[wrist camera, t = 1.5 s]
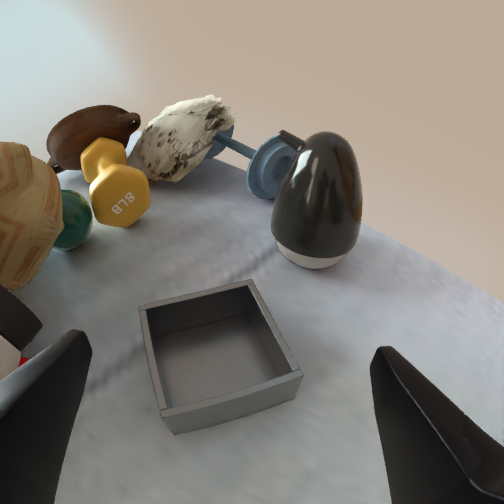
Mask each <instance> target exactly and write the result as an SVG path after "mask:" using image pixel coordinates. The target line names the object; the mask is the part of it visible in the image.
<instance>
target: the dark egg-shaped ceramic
mask: <svg viewBox="0 0 504 504" xmlns="http://www.w3.org/2000/svg"><path fill="white" fill-rule="evenodd" d="M278 138H279V139H280V140H281V141H283V142H284V143H285V144H287V145H288V146H289V147H291V148H292V149H293V150H295V151H296V153H295V155H294V157H293V158H292V160H291V161H290V163H289V165H288V167H287V169H286V171H285V173H284V175H283V177H282V180H281V182H280V185H279V188H278V191H277V194H276V198H275V202H274V206H273V210H272V215H271V231H272V233H273V235H274V238H275V241H276V244H277V246H278V248H279V250H280V251H281V252H282V254H283V255H284V256H285V257H286V258H287V259H289V260H290V261H291V262H293V263H295V264H297V265H299V266H302V267H305V268H311V269H321V268H326V267H329V266H332V265H334V264H336V263H338V262H339V261H340V260H342V259H343V258H344V257H345V256H346V254H347V253H348V252H349V251H350V250H351V249H352V248H353V247H354V246H355V244H356V242H357V239H358V235H359V231H360V224H361V216H362V186H361V178H360V172H359V167H358V163H357V159H356V157H355V154H354V151H353V149H352V147H351V145H350V144H349V142H348V141H347V140H346V139H345V138H343V137H342V136H341V135H339V134H336V133H334V132H328V131H324V132H318V133H315V134H313V135H312V136H310V137H309V138H307V139H306V140H305V141H304V140H302V139H300V138H298V137H296V136H294V135H292V134H290V133H288V132H287V131H285V130H281V131H280V132H279V134H278Z"/></svg>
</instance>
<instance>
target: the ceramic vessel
mask: <svg viewBox="0 0 504 504" xmlns="http://www.w3.org/2000/svg"><path fill="white" fill-rule="evenodd" d="M62 205H63V204H62V196H61V188H60V183H59V180H58V178H57V175H56V173H55V172H54V170H53V169H52V168H51V167H50V166H49V165H48V164H46V163H45V162H43V161H42V160H40V159H38V158H36V157H34V156H32V155H31V154H30V151H29V148H28V147H27V146H26V145H22V144H19V143H15V142H0V285H1V286H3V287H4V288H6V289H9V290H19V289H21V288H23V287H24V286H25V285H27V284H28V283H29V282H30V281H31V280H32V279H33V278H34V276H35V275H36V274H37V273H38V272H39V270H40V268H41V266H42V265H43V263H44V261H45V260H46V258H47V256H48V254H49V252H50V250H51V248H52V246H53V244H54V242H55V240H56V238H57V237H58V235H59V234H60V233H61V232H62V230H63V229H64V223H63V220H62Z"/></svg>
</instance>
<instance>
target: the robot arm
mask: <svg viewBox="0 0 504 504" xmlns="http://www.w3.org/2000/svg"><path fill="white" fill-rule="evenodd" d="M91 358H92V348H91V346H90V343H89V341H88V338H87V336H86V333H85V332H84V331H81V330H75V329H73V330H71V331H69V332H68V333H66V334H65V335H64V336H62V337H61V338H59V339H58V340H56V341H55V342H54V343H52V344H51V345H49V346H48V347H46V348H45V349H44V350H42V351H41V352H39V353H38V354H37V355H35V356H34V357H32V358H31V359H30V360H28V361H27V362H26V363H24V364H23V365H21V366H20V367H19V368H17V369H16V370H14V371H13V372H12V373H10V374H9V375H8V376H6V377H5V378H4V379H2V380H1V381H0V504H54V501H55V496H56V491H57V486H58V482H59V477H60V473H61V469H62V465H63V461H64V457H65V453H66V449H67V446H68V442H69V438H70V435H71V431H72V428H73V425H74V421H75V418H76V415H77V412H78V409H79V405H80V402H81V399H82V396H83V392H84V388H85V383H86V379H87V375H88V370H89V366H90V362H91ZM370 377H371V385H372V393H373V402H374V410H375V416H376V421H377V426H378V430H379V435H380V440H381V445H382V450H383V455H384V460H385V465H386V471H387V477H388V483H389V489H390V495H391V501H392V504H504V447H503V446H502V445H501V444H499V443H498V442H497V441H495V440H494V439H493V438H492V437H490V436H489V435H488V434H487V433H486V432H484V431H483V430H482V429H481V428H480V427H479V426H478V425H476V424H475V423H474V422H473V421H472V420H471V419H470V418H469V417H468V416H467V415H464V413H463V412H462V411H461V410H460V409H459V408H458V407H457V406H456V405H455V404H454V403H453V402H452V401H451V400H450V399H449V398H447V397H446V396H445V395H444V394H443V393H442V392H441V391H440V390H439V389H438V388H437V387H436V386H435V385H434V384H432V383H431V382H430V381H429V380H428V379H427V378H426V377H425V376H424V375H423V374H422V373H420V372H419V371H418V370H417V369H416V368H415V367H414V366H413V365H412V364H411V363H410V362H408V361H407V360H406V359H405V358H404V357H403V356H402V355H401V354H400V353H399V352H397V351H396V350H395V349H394V348H393V347H391V346H380V347H378V348H377V350H376V353H375V355H374V357H373V359H372V362H371V364H370Z"/></svg>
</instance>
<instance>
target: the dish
mask: <svg viewBox="0 0 504 504" xmlns="http://www.w3.org/2000/svg"><path fill="white" fill-rule="evenodd" d="M133 121H135V122H134V123H133ZM140 123H141V120H140V115H138V114H137V113H129V112H127V111H126V110H124V109H122V108H118V107H116V106H111V105H98V106H93V107H87V108H84V109H81V110H78V111H76V112H74V113H72V114H70V115H68V116H67V117H65V118H63V119H62V120H61V121H60V122H58V123H57V125H55V126H54V127H53V128H52V130H51V131H50V133H49V135H48V138H47V144H46V145H47V150H48V152H49V154H50V156H51V158H50V159H49V161H48V163H47V164H48V165H49V166H50V167H51V168H52V169H53V170H54V172H55V173H56V174H57V173H60V172H62V171H65V170H82V166H81V154H82V152H83V151H84V150H85V149H86V148H87V147H88V146H89V145H90V144H91V143H92V142H94V141H95V140H96V139H97V138H100V137H104V138H108V139H112V140H115V141H118V142H120V143H121V144H122V145H123V146H124V148H125V149H126V147H127V145H128V142H129V138H130V135H131V134H132V133H134V132H135V131H136V130H137V129H138V128H139V126H140ZM56 165H58V166H56ZM54 166H55V167H54Z"/></svg>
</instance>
